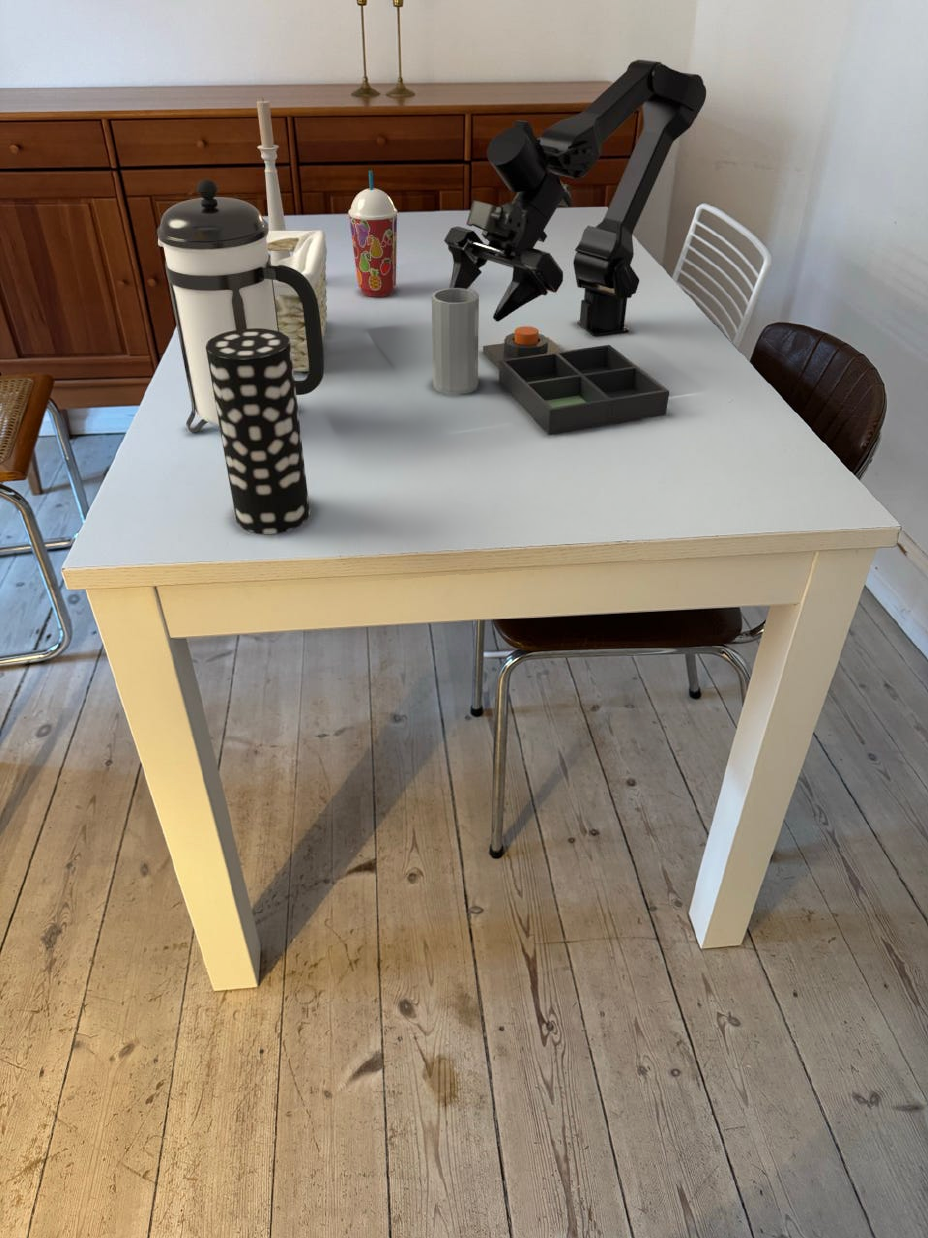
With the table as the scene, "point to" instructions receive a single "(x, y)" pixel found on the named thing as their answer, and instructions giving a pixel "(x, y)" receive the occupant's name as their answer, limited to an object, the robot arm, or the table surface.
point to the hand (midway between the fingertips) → (471, 311)
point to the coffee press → (226, 286)
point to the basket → (288, 304)
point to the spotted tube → (260, 428)
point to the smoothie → (374, 240)
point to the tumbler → (455, 340)
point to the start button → (526, 335)
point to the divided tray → (582, 388)
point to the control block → (519, 349)
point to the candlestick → (271, 176)
